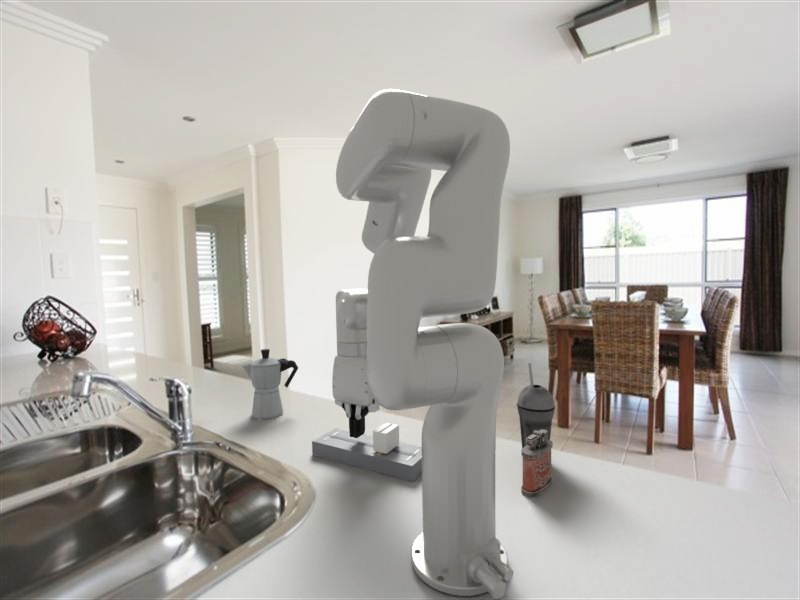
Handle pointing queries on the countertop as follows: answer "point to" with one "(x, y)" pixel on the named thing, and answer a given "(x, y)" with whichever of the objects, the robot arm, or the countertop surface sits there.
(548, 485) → the lighter
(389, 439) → the fader knob
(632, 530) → the countertop surface
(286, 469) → the countertop surface
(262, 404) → the coffee maker
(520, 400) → the beverage cup
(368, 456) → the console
